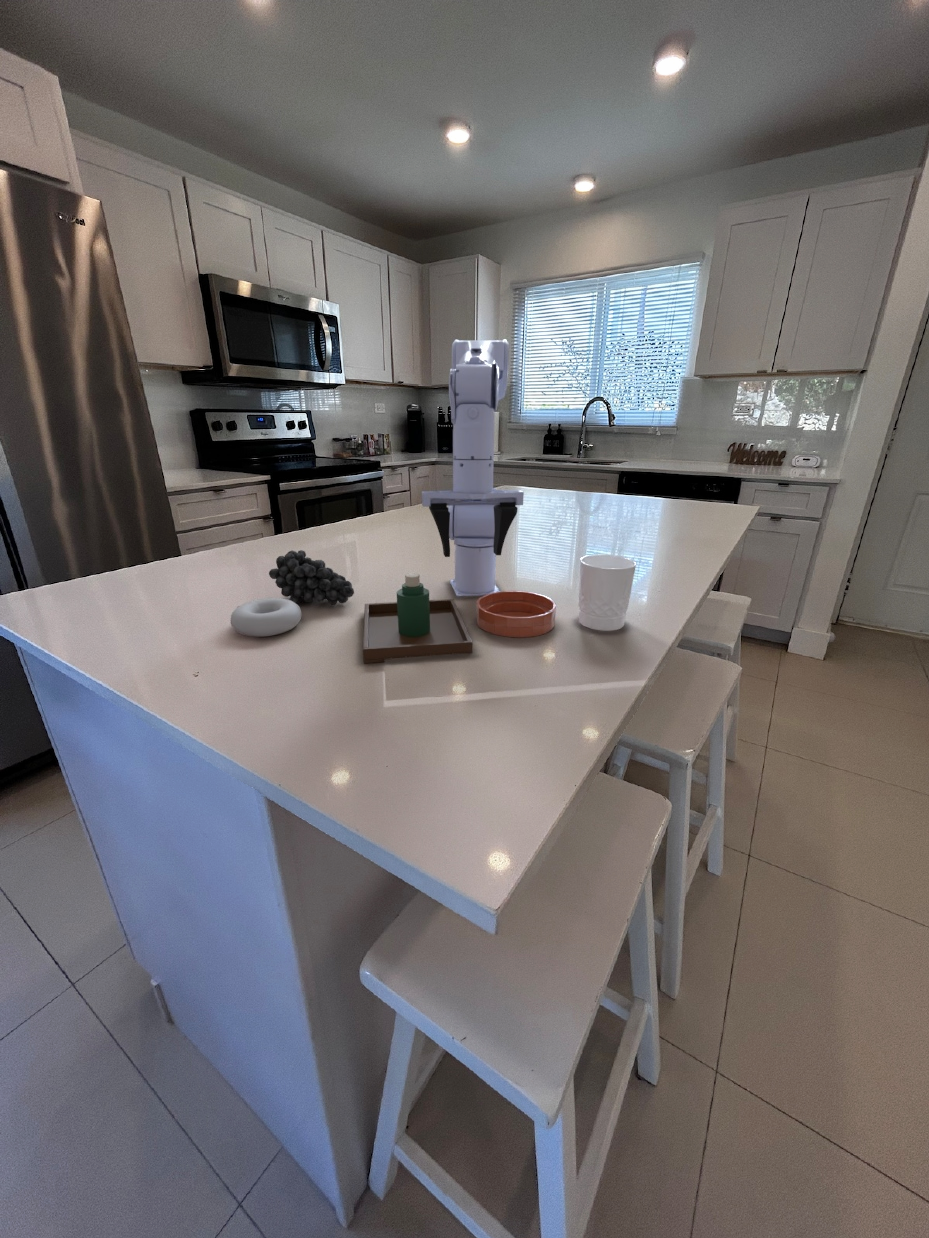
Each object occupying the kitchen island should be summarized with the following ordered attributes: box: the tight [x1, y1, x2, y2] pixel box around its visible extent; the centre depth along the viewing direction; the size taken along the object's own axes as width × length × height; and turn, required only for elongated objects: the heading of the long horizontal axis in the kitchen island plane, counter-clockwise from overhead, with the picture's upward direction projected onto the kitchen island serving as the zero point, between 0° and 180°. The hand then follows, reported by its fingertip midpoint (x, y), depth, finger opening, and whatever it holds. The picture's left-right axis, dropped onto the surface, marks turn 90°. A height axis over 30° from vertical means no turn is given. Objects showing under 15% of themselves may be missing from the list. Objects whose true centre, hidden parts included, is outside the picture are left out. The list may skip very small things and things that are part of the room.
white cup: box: [578, 554, 637, 632], centre depth 76 cm, size 8×8×10 cm
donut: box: [230, 597, 302, 638], centre depth 76 cm, size 10×4×10 cm
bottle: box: [396, 572, 430, 637], centre depth 72 cm, size 5×5×8 cm
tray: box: [362, 598, 474, 664], centre depth 74 cm, size 17×14×2 cm
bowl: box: [475, 590, 557, 638], centre depth 77 cm, size 12×12×4 cm
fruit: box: [268, 550, 355, 606], centre depth 85 cm, size 9×8×15 cm
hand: (472, 554), depth 76 cm, fingers open, 7 cm apart
